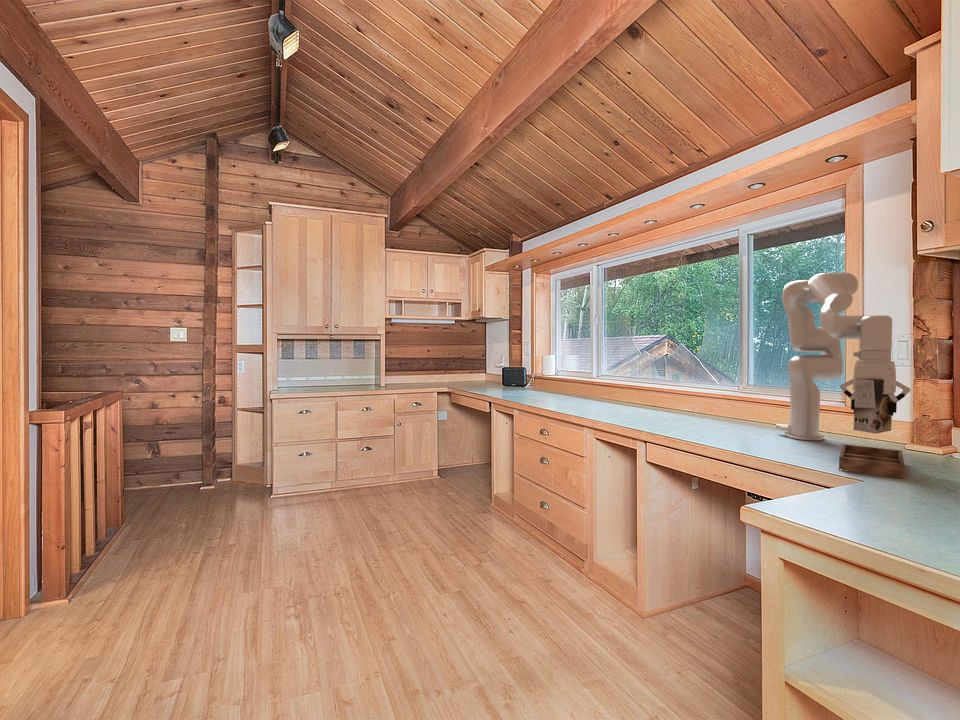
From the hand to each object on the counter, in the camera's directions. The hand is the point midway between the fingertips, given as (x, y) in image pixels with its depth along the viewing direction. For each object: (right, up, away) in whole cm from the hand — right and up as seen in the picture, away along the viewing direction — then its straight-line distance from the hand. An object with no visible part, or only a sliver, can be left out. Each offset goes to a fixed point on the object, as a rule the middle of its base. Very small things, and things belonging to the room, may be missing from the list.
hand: (873, 413), depth 150 cm
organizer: (-1, -16, -1) cm, 16 cm away
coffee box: (0, -6, 0) cm, 6 cm away
